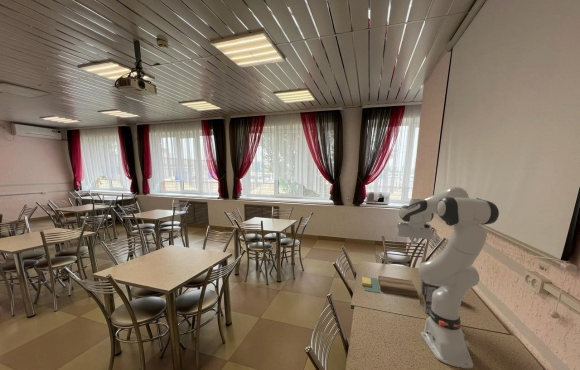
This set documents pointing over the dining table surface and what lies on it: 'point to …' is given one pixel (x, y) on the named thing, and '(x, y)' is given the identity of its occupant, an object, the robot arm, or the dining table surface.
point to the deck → (397, 286)
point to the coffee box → (426, 295)
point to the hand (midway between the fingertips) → (413, 244)
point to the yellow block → (366, 281)
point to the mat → (373, 286)
